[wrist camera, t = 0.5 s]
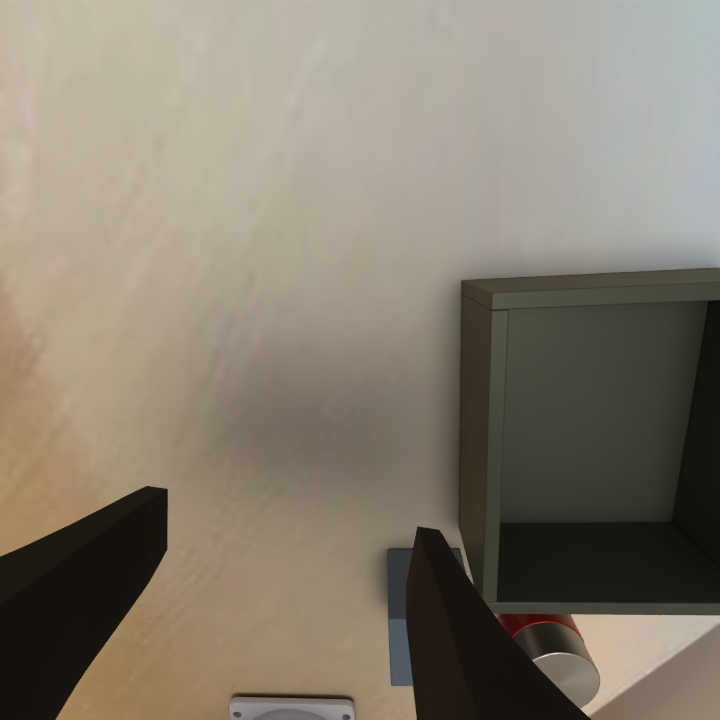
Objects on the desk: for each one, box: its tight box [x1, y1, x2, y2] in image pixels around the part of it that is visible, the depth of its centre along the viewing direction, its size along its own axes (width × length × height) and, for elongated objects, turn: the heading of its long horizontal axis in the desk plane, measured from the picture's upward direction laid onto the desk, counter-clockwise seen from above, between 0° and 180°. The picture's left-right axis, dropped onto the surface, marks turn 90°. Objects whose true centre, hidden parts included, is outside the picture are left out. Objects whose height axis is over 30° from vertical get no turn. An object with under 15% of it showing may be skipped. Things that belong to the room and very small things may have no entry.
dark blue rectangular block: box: [387, 549, 466, 686], centre depth 21 cm, size 4×4×4 cm
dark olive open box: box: [459, 268, 720, 615], centre depth 17 cm, size 13×11×6 cm
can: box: [495, 614, 600, 708], centre depth 21 cm, size 4×4×5 cm
